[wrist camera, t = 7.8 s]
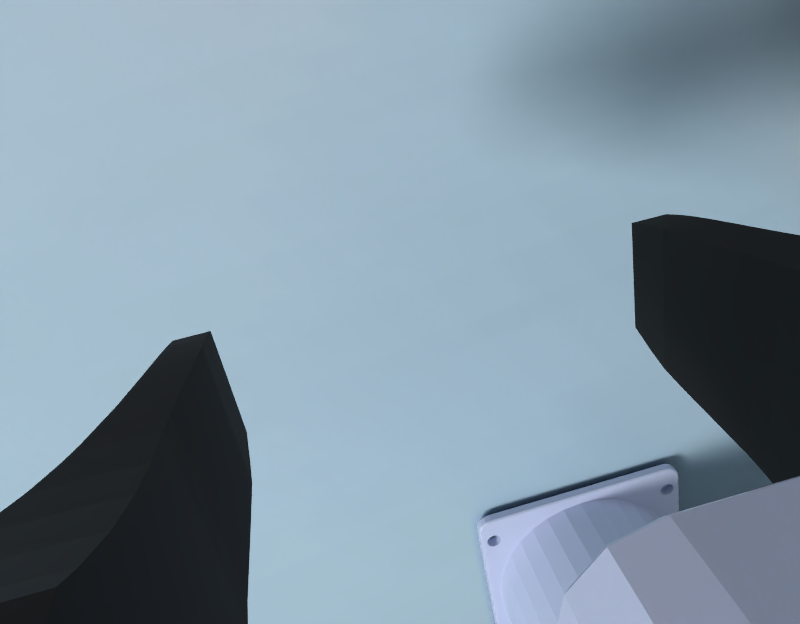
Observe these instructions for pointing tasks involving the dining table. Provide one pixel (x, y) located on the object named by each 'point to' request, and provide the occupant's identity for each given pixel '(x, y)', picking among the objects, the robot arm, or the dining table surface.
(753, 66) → the dining table surface
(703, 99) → the dining table surface
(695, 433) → the dining table surface
